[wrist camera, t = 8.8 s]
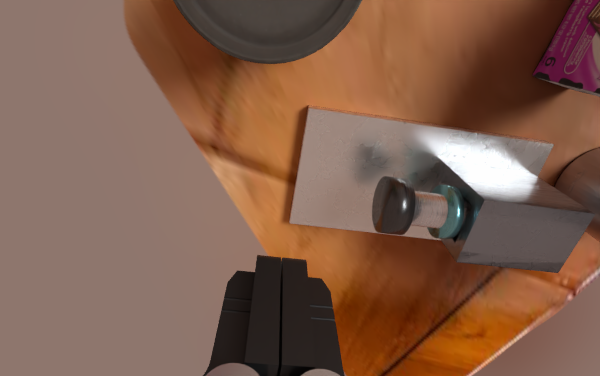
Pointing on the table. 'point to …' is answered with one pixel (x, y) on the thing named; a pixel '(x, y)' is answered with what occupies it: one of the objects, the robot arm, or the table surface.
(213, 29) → the coffee can
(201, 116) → the table surface
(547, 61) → the candy bar box
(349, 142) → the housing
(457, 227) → the shaft
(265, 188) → the table surface
